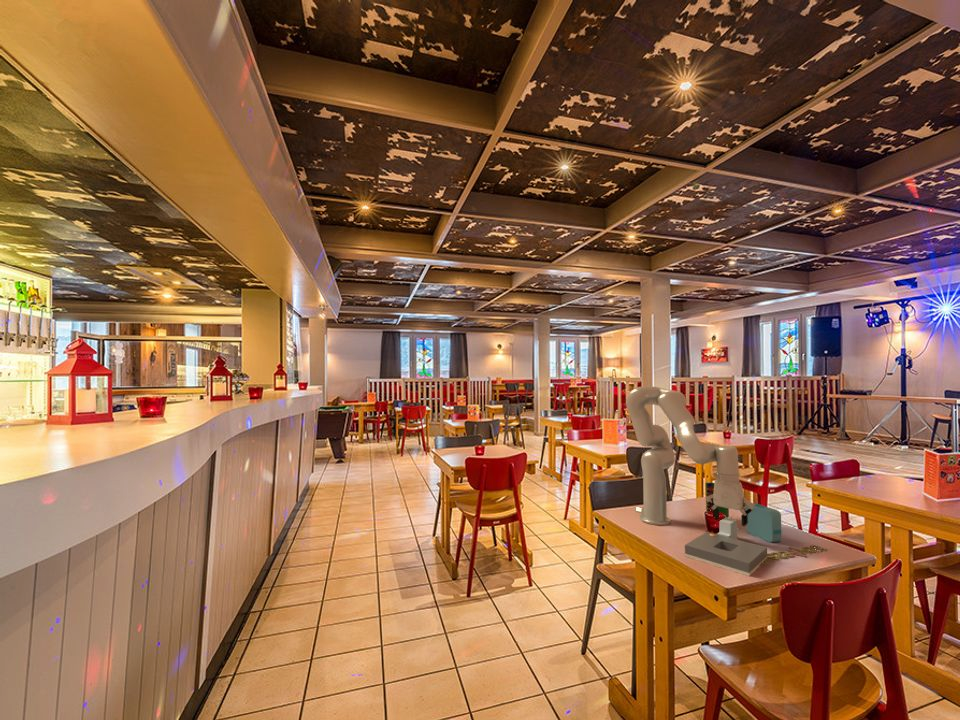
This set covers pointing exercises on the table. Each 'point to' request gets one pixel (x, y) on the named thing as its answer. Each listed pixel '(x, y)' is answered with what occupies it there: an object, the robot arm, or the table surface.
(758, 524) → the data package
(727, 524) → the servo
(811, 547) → the text sign
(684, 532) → the table surface
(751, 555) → the chassis
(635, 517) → the table surface
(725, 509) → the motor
